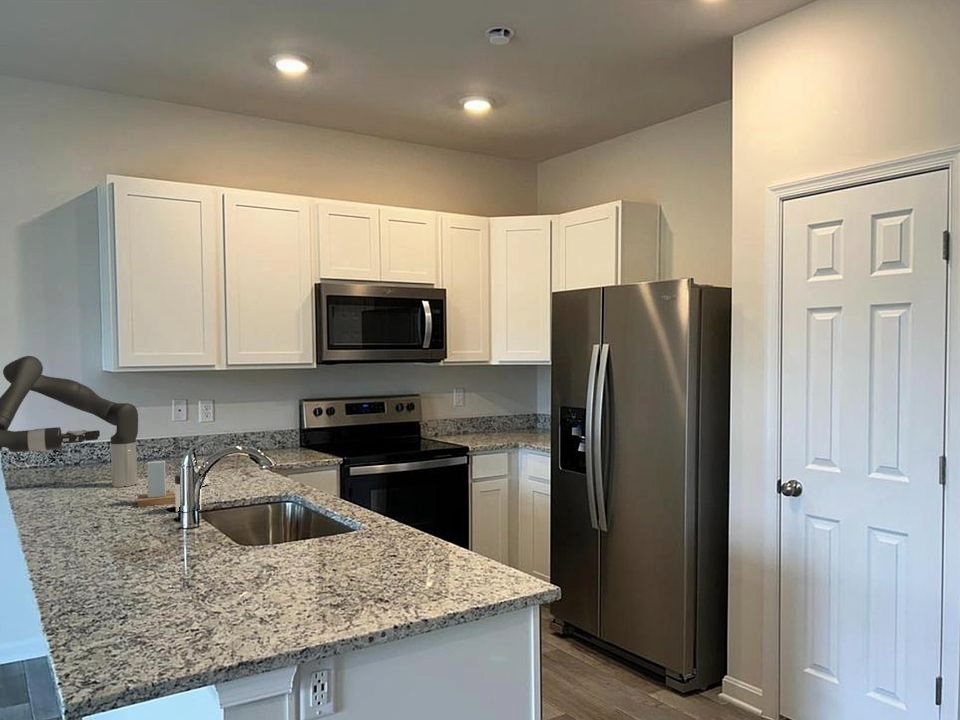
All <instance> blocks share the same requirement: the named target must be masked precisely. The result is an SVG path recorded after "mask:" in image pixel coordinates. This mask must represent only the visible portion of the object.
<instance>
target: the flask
mask: <svg viewBox="0 0 960 720" xmlns="http://www.w3.org/2000/svg"><path fill="white" fill-rule="evenodd" d="M196 461H197V463H196V465H197V464H198V466H200V465H201V464H202V463H203V461H204V459H201V460H196ZM209 482H210V483H211V481H210V479H209V476H208V474H207V475H206V477H205V480H204V484H206V483H209Z"/></svg>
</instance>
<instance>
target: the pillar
mask: <svg viewBox="0 0 960 720" xmlns="http://www.w3.org/2000/svg"><path fill="white" fill-rule="evenodd" d="M146 466H147V494H148V498H150V497H163V496H165V495H166V492H167V490H166V489H167V486H166V460H158V461H148V462H147V463H146Z"/></svg>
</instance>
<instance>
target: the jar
mask: <svg viewBox="0 0 960 720" xmlns="http://www.w3.org/2000/svg"><path fill="white" fill-rule="evenodd" d="M180 474H181V473H178V474H175V475H174V483H175V484H174V493H175V513H179V512H178V511H179V507H180ZM201 510H202V488H201V489H200V510H199V511H201Z"/></svg>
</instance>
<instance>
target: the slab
mask: <svg viewBox="0 0 960 720" xmlns="http://www.w3.org/2000/svg"><path fill="white" fill-rule="evenodd" d="M164 504H169V505H176V500H175V490H174V491H166V495H165V496H163V497H150V498H148V493H144V494H137V508H138V507H140V508H146V506H150V507H156V506H155V505H160V506H165V505H164Z"/></svg>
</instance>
